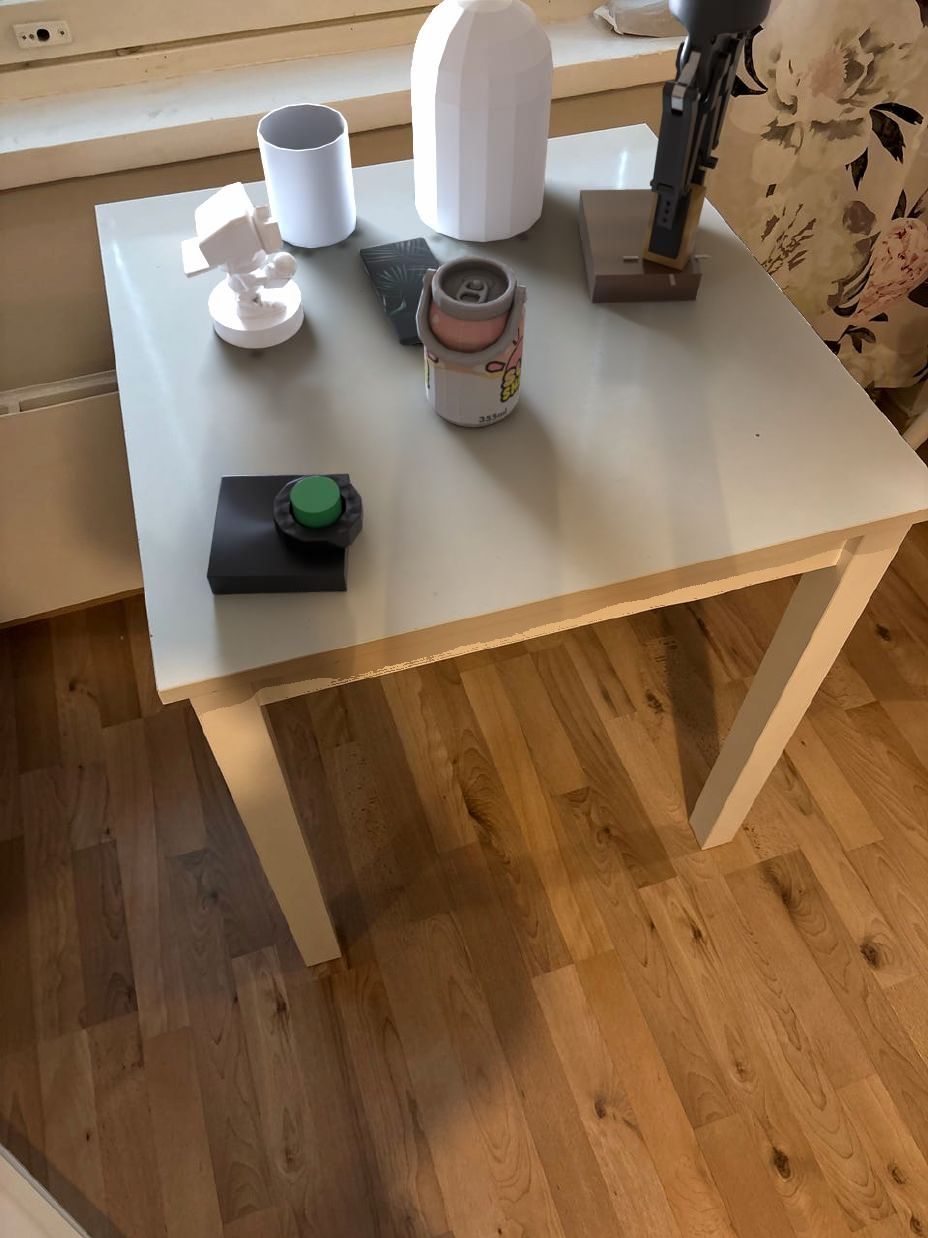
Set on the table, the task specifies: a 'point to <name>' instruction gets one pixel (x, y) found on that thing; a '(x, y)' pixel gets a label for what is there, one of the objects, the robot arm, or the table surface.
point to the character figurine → (245, 271)
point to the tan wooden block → (688, 232)
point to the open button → (316, 501)
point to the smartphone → (400, 281)
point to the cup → (308, 174)
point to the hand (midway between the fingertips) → (669, 243)
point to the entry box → (279, 538)
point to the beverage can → (472, 339)
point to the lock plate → (628, 251)
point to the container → (481, 118)
